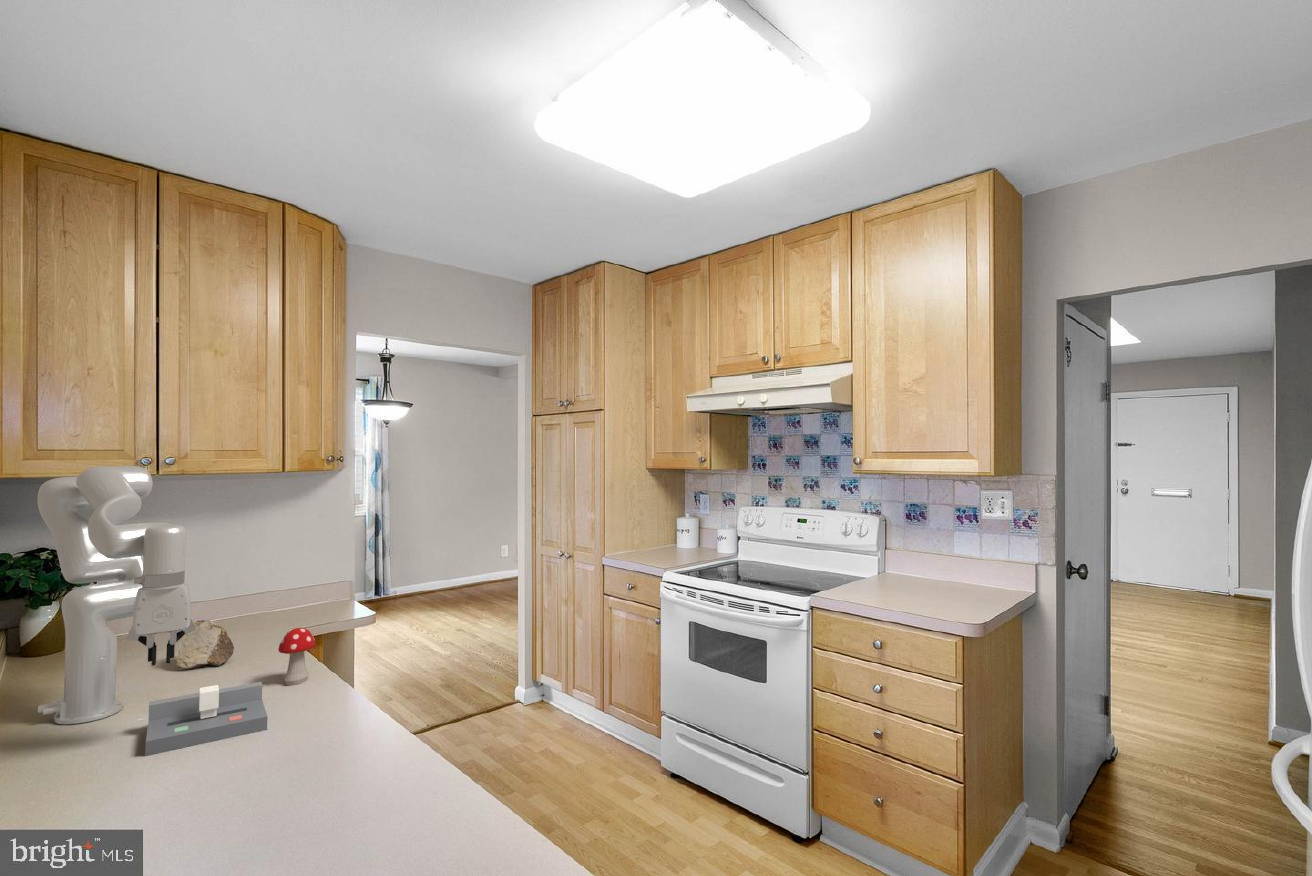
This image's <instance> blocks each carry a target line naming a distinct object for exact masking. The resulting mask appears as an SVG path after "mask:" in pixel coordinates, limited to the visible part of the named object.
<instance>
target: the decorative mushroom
mask: <svg viewBox="0 0 1312 876" xmlns="http://www.w3.org/2000/svg"><path fill="white" fill-rule="evenodd" d="M314 637H315V636H313V634H312V633H311V631H310V630H309V629H307V628H304V627H296V628H293V629H291V630H289V631H288V632H287V633H286V634H285V635H284V636H283V639H282V640H281V642H280V643H279V646H278V650H277V651H278V653H280V654H285V655H287V654H288V655H289V657H288V658H289V660H288V665H287V670H286V674H285V675H284V679H283V681H284V685H286V686H296V685H301V684H302V683H305V682H306V681H307V680H308V677H309V675H310V674H309V672H308V669H307V665H306V658H305V652H307V651H309V650H312V649H314V648H315V646H316V644H317V643H316V639H315V638H314Z"/></svg>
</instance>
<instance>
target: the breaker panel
mask: <svg viewBox="0 0 1312 876" xmlns="http://www.w3.org/2000/svg"><path fill="white" fill-rule="evenodd" d="M262 730H263V731H267V730H268V713H267V711H266V707H265V705H264V702H263V683H262V681H258V682H253V683H251V682H250V683H247V684H241V685H236V686H229V687H224V688H219V708H217V716H213V717H208V718H203V719H201V718H200V711H199V692H195V693H190V694H185V695H180V696H179V695H178V696H173V697H168V698H162V699H156V700H152V701H150V700H149V702H148V723H147V729H146V738H145V752H144V755H145V757H147V756H151V755H156V754H160V753H161V754H162V753H166V752H170V751H175V750H179V749H184V748H188V747H193V746H197V745H198V746H199V745H203V744H207V743H210V742H211V743H212V742H216V741H220V740H225V739H230V738H235V737H239V736H240V737H241V736H242V735H243V736H244V735H248V734H252V733H253V734H254V733H257V732H262Z"/></svg>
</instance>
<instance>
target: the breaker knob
mask: <svg viewBox="0 0 1312 876" xmlns="http://www.w3.org/2000/svg"><path fill="white" fill-rule="evenodd" d="M219 687H220V686H219V684H215V685H211V686H210V685H209V686H208V685H207V686H204V687H199V690H198V691H199V692H198V693H199V711H200V718H201V719H203V718H208V717H213V716H217V708H219V689H220V688H219Z"/></svg>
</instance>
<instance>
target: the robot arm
mask: <svg viewBox="0 0 1312 876" xmlns="http://www.w3.org/2000/svg"><path fill="white" fill-rule="evenodd" d="M153 484H154V483H153V478H152V475H151V473H150V472H149V471H148V470H147V469H146V468H144V467H142V466H139V465H98V466H92V467H89V468H86V469H84V470H83V471H81V472H80V473H79V474H78V475H77V476H62V477H56V478H51V479H49V480H46V481H45V482H44V483H42V484H41V485H40V487H39V490H38V493H37V507H38V512H39V514H40V516H41V519H42V520H43V522H44V523H45V525H46V526H47V528H48V529H49V531H50V533H51V535H52V537H53V540H54V545H55V549H56V554H57V558H58V561H59V566H60V569H61V574H62V576H63V579H64V580H65V581H66V582H67V583H70V584H89V583H90V584H89V585H82V586H79V587H76V588H73V589H72V590H70V591H69V592H67V593H66V594H65V595H64V597H63V599H62V601H61V612H62V613H61V614H62V617H63V624H64V631H65V632H64V633H65V648H64V649H65V652H64V653H65V658H64V660H65V661H64V684H63V697H62V699H61V700H57V701H56V702H55V703H45V704H40V705H38V707H37V715H38V714H40V715H41V714H42V715H45V716H46V715H51V714H55V713H56V714H55V715H54V716H53V722H54V723H56V724H60V725H75V724H76V725H77V724H83V723H84V724H85V723H88V722H93V721H98V720H101V719H105V718H107V717H110V716H112V715H113V716H114V715H115V714H117V713H119V712H120V711H122V709H123V708H124V702H122V701H121V700H117V699H116V691H117V687H116V686H117V685H116V684H117V663H118V662H117V661H118V660H117V659H118V637H117V635H116V634H115V632H114V631H113V630H112V629H110V627H109V626H107V625H106V623H108V622H112V621H115V620H120V619H126V618H131V617H132V625H131V628H130V629H129V631H128V633H127V634H126V639H127V640H131V641H136V642H139V643H141V644H142V645H144V646H145V647H146V648H147V662H151V667H152V666H153V667H154V666H156V664H157V647H158V646H157V644H156V642H155V635H157V634H166V633H169V639H168V641H167V643H166V654H165V655H166V659H165V661H166V662H165V663H166V664H171V659H175V650H176V649H175V646H176V645H177V642H179V641H180V639H181V638H182V637H183V636H184V635H186V634H188V633H190V632H192V631H194V630H195V629H196V627H195V625H194V621H193V619H192V613H191V612H192V608H191V607H192V606H191V593H190V585H189V584H188V583H185V574H186V573H185V572H186V545H187V543H186V542H187V531H186V528H185V527H184V526H183V525H180V524H171V523H169V522H165V521H164V522H163V521H162V522H161V521H160V522H159V521H157V522H146V523H145V522H144V523H142V522H141V523H129V524H128V523H127V524H122V523H124V522H127V521H128V520H130V519H132V518H133V517H135V516H136V515H137V514H138V513H139V511H140V510H141V509H142V508H141V507H142V499H144V498H146V497H147V496H148V495H150V493H151V492H152V489H153ZM78 510H94V511H93V512H92V513H91V515H90V517H87V516H85V515H83V514H82V513H81V512H79V511H78ZM112 580H118V581H112ZM105 581H107V582H105ZM109 581H110V582H109ZM96 582H101V583H96ZM91 583H93V584H91Z"/></svg>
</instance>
